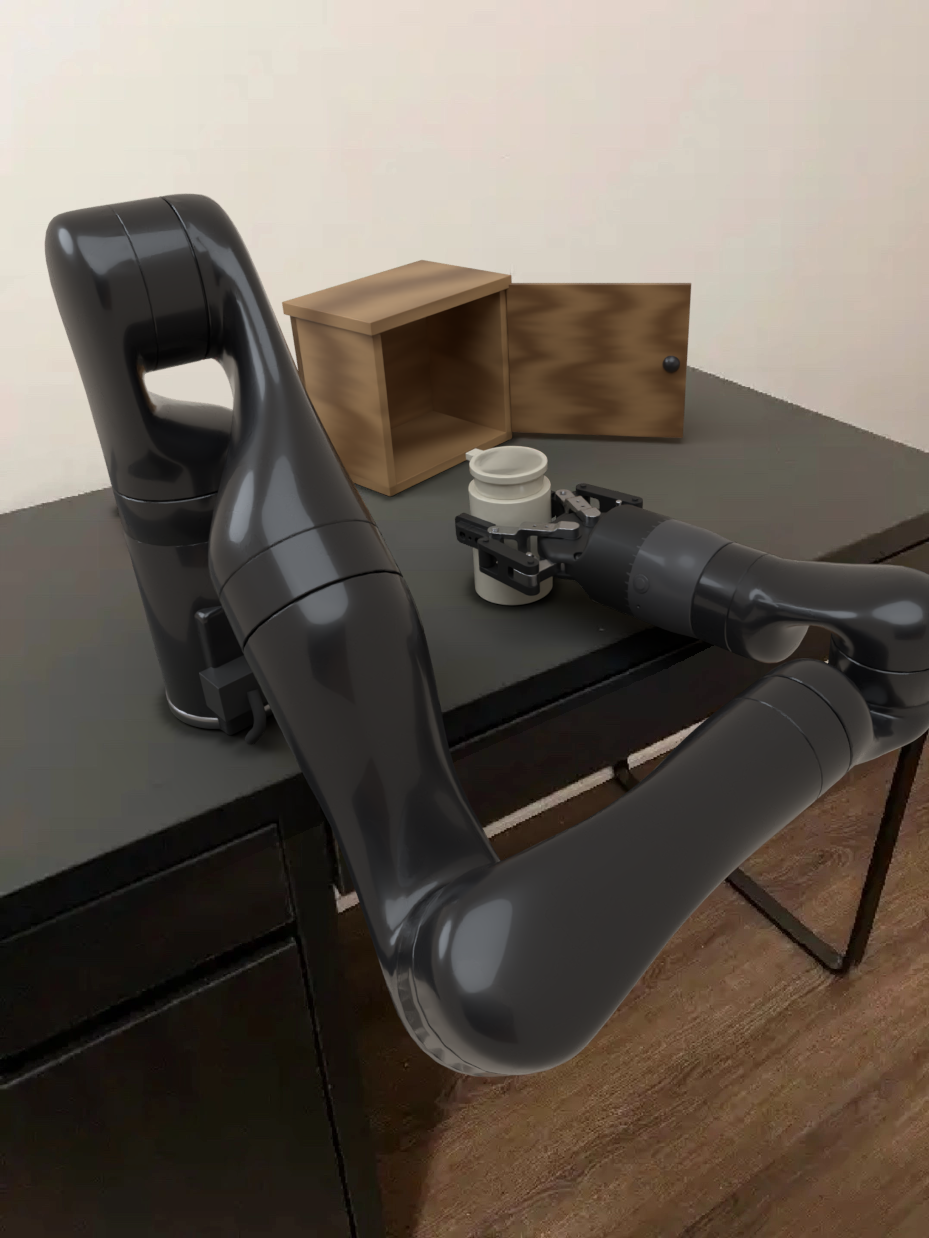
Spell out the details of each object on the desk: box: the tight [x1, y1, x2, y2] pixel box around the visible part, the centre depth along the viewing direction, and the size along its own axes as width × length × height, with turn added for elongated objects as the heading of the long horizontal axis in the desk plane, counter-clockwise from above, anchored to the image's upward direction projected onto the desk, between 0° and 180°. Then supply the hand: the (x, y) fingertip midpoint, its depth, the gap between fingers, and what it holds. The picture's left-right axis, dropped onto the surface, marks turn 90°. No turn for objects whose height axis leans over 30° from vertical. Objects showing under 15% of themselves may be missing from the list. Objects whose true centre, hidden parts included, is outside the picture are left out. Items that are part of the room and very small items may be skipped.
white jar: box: [466, 445, 554, 606], centre depth 82 cm, size 7×6×11 cm
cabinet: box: [281, 259, 692, 497], centre depth 103 cm, size 28×28×17 cm
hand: (489, 509), depth 83 cm, fingers closed on white jar, 6 cm apart
